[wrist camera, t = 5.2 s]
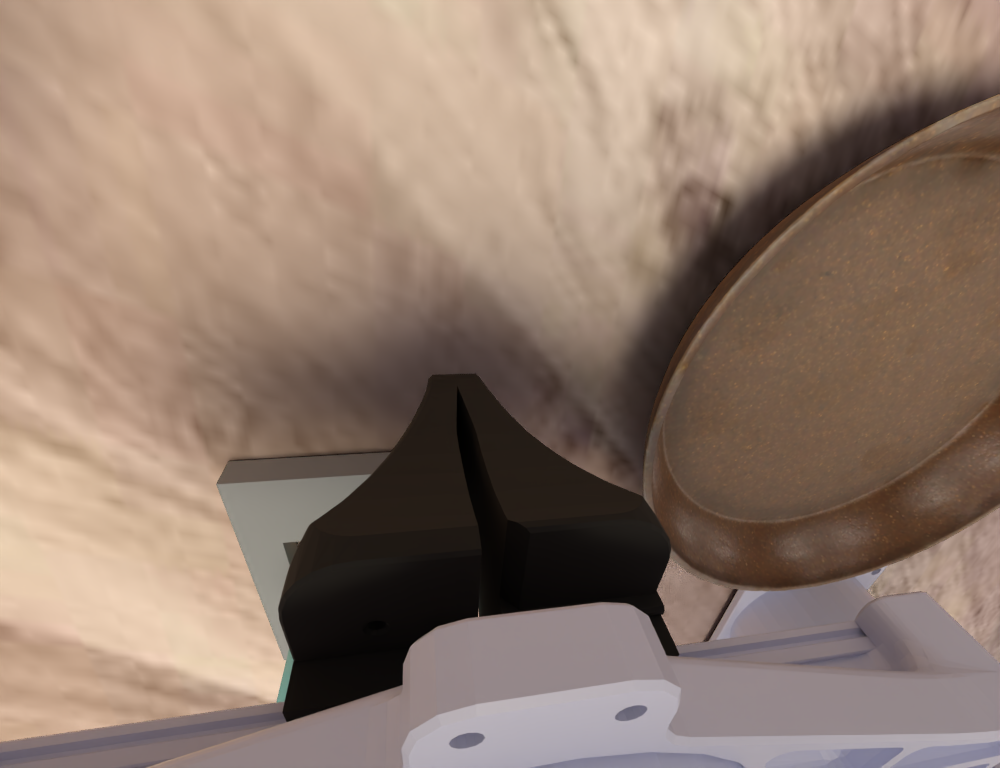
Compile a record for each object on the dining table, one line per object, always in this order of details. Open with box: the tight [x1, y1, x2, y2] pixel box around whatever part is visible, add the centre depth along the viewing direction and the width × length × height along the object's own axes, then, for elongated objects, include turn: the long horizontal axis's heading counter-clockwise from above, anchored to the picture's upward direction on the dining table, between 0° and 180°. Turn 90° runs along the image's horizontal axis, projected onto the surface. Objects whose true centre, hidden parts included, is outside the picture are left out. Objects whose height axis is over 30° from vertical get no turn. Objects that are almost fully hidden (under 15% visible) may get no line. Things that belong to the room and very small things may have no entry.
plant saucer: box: [643, 94, 1000, 591], centre depth 15 cm, size 18×18×3 cm
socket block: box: [216, 452, 391, 660], centre depth 17 cm, size 10×7×1 cm
